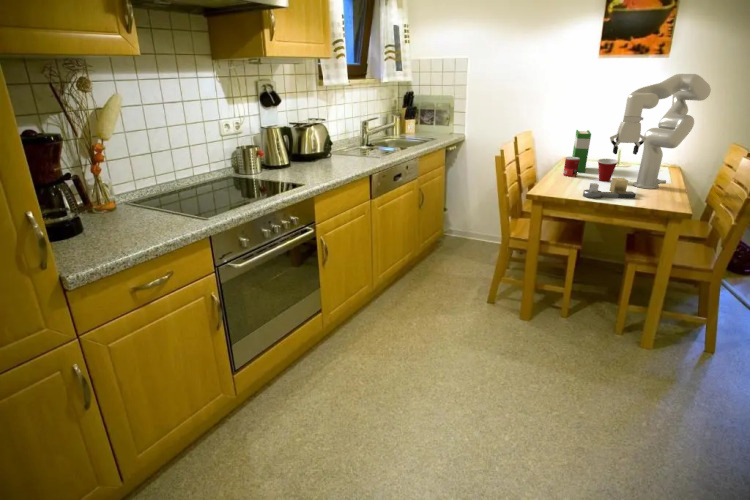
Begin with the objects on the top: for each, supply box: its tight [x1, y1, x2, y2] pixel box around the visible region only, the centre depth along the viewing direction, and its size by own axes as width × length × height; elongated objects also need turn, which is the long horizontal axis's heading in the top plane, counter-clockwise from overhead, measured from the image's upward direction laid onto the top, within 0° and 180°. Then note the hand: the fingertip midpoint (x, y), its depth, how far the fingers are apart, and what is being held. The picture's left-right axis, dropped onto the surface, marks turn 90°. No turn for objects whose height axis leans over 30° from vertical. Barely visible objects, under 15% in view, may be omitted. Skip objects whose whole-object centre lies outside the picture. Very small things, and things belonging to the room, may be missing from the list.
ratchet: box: [582, 182, 637, 200], centre depth 231 cm, size 24×9×6 cm, turn 83°
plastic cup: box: [597, 158, 619, 183], centre depth 262 cm, size 11×11×12 cm
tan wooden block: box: [608, 177, 629, 192], centre depth 240 cm, size 6×6×7 cm
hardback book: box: [571, 129, 592, 174], centre depth 288 cm, size 18×7×24 cm, turn 161°
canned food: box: [562, 156, 580, 178], centre depth 275 cm, size 8×8×11 cm
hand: (624, 153), depth 233 cm, fingers open, 9 cm apart
